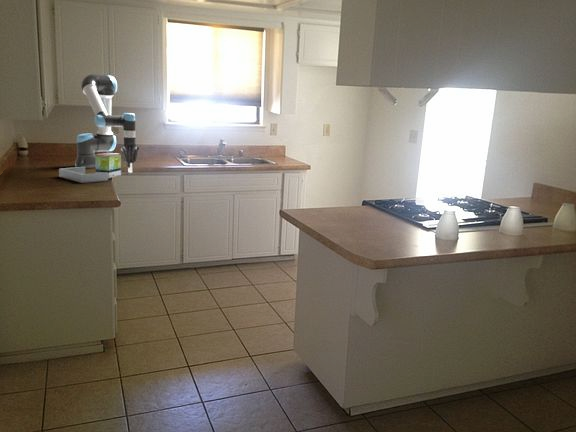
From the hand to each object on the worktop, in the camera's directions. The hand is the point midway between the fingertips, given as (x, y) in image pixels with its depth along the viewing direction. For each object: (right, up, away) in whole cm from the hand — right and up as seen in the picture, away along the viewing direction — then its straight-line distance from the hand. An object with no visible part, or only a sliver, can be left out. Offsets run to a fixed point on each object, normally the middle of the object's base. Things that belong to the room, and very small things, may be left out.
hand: (130, 172), depth 352 cm
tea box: (-11, -4, -11) cm, 16 cm away
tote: (-22, -6, -24) cm, 33 cm away
